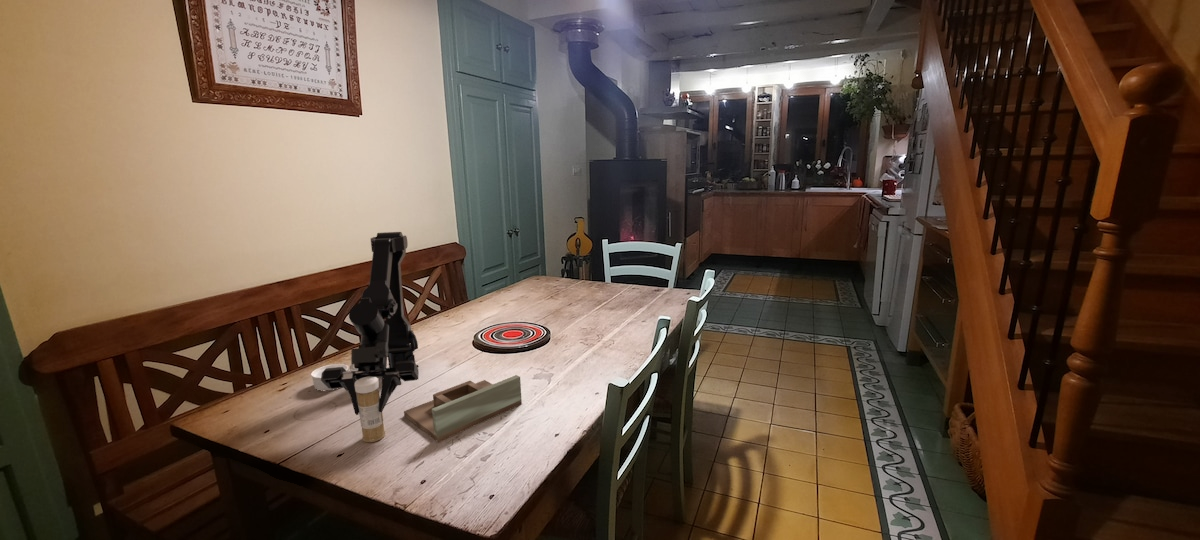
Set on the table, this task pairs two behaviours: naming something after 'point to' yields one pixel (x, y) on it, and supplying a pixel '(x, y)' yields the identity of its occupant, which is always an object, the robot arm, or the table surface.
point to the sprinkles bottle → (369, 408)
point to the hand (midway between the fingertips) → (368, 413)
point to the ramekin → (318, 372)
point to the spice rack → (465, 406)
